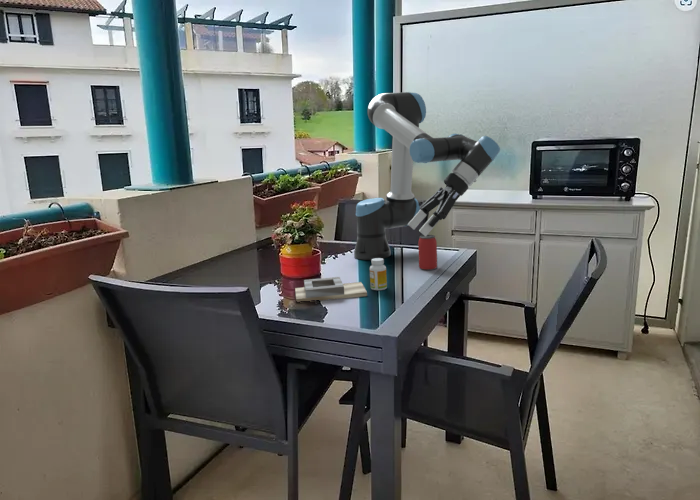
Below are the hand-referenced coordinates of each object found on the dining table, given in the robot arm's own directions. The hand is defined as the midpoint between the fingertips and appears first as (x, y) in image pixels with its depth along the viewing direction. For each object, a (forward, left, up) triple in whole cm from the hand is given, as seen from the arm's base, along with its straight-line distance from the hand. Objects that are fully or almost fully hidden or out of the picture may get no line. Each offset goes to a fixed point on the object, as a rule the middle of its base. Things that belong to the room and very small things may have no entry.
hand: (416, 230), depth 162 cm
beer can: (-20, +9, -18) cm, 29 cm away
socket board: (0, -29, -18) cm, 34 cm away
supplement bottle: (-1, -13, -19) cm, 22 cm away
